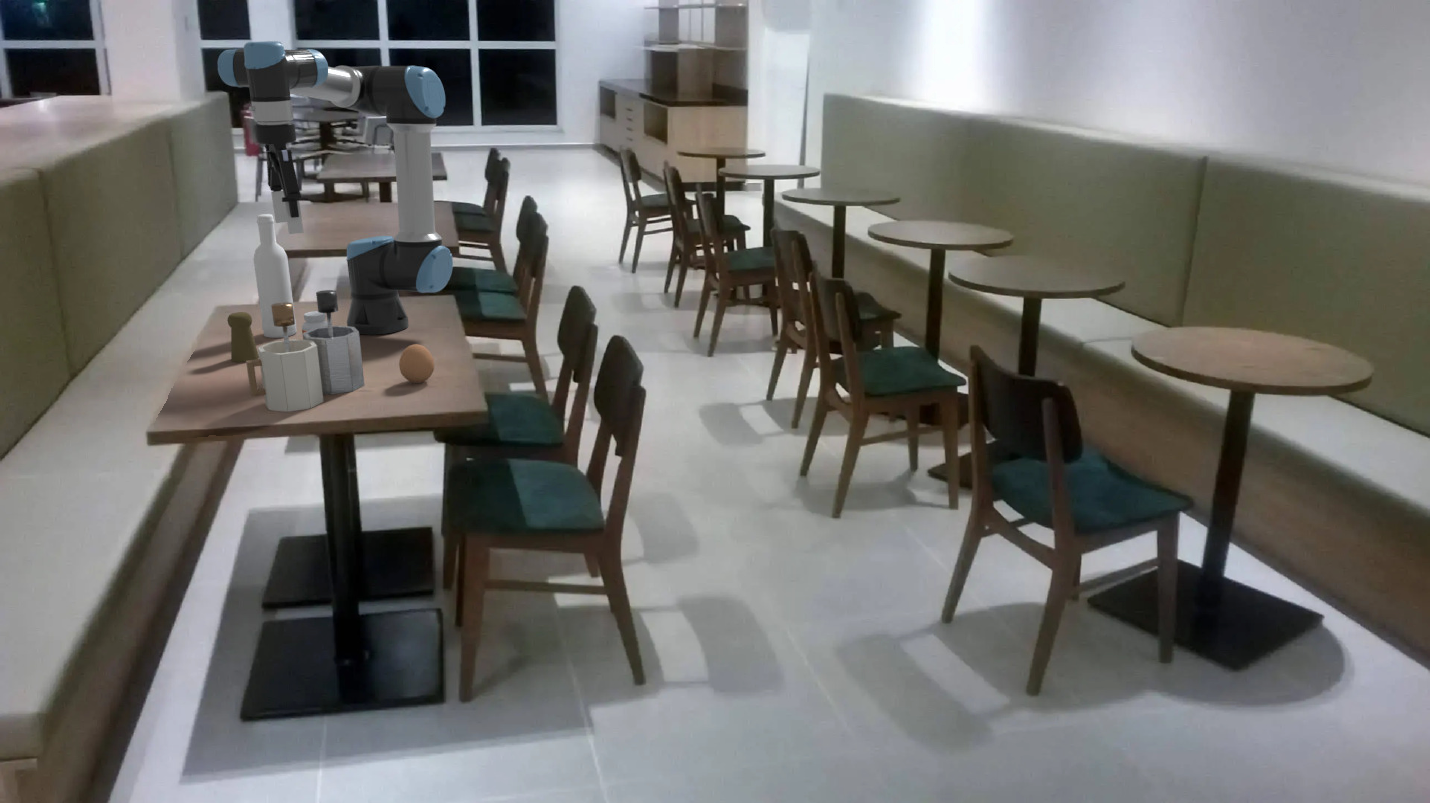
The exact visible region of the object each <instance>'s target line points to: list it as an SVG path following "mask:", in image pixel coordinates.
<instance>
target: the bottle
mask: <svg viewBox="0 0 1430 803" xmlns="http://www.w3.org/2000/svg"><path fill="white" fill-rule="evenodd" d="M256 219H257V220H256V223H257V227H258V234H259V239H260V241H259V242H260V244H259V245H258V247H257V248H256V249H255V250H254V254H253V265H254V271H255V278H256V280H255V281H256V288H257V294H258V295H257V296H258V301H259V309H260V318H261V327H262V328H261V329H262V332H263V336H264V337H266V338H271V339H272V338H273V339H279V338H280V339H282V338H284V335H283V328H282V327H278V326H274V322H273V315H272V307H271V305H272V304H275V303H283V302H288V303H292V304H293V305H294V301H293V291H292V283H291V276H290V268H289V261H288V260H289V259H288V255H287V253H286V251H285V248H284V247H283V246H281V245H280V244H279V243H277V237H276V229H275V218H274V216H273V214H271V213H264V214H263V213H262V214H258V215H256ZM293 311H294V312H295V308H294V306H293ZM295 315H296V314H294V319H295V324H294V325H291V326H287V329H288V337H291V336H294V335H296V334H297V321H296V316H295Z"/></svg>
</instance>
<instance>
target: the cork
mask: <svg viewBox="0 0 1430 803" xmlns="http://www.w3.org/2000/svg"><path fill="white" fill-rule="evenodd" d="M226 321H227V324H228V326H229V327H230V328H231V331H230V335H231V336H230V338H231V339H230V340H231V343H230V348H231V349H230V351H231V352H230V355H231V356H230V357H231V358H230V360H231V362H233V363H246V361H248V360H255V359H259V354H258V347H257V344H256V342H255V338H254V334H253V330H252V328H251V326H252V323H253V317H252V316H251V314H250V313H249V312H245V311H240V312H239V311H238V312H233V313H230V314H229V315H228V317H227V320H226Z"/></svg>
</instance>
